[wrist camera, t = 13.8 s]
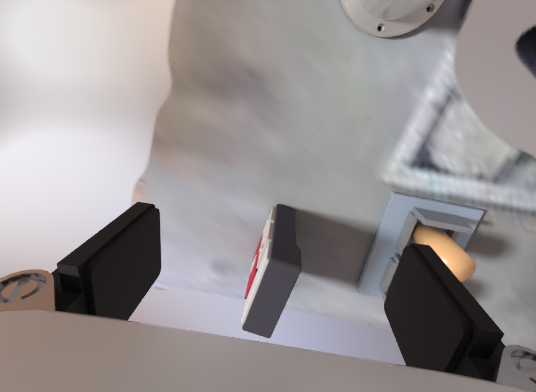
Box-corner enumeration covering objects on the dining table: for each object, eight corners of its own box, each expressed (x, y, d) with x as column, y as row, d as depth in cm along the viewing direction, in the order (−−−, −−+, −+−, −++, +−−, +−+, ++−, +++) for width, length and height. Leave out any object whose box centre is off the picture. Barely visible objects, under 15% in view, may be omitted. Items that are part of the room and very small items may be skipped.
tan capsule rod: (416, 218, 41) (448, 252, 33) (443, 223, 41) (481, 258, 33) (406, 241, 43) (434, 279, 34) (432, 246, 43) (466, 285, 34)
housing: (392, 191, 41) (421, 222, 32) (479, 208, 41) (534, 244, 32) (356, 288, 48) (371, 336, 39) (431, 303, 48) (464, 355, 38)
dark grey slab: (272, 201, 43) (263, 256, 29) (298, 210, 43) (302, 269, 29) (251, 257, 47) (235, 329, 33) (276, 265, 47) (269, 340, 34)
